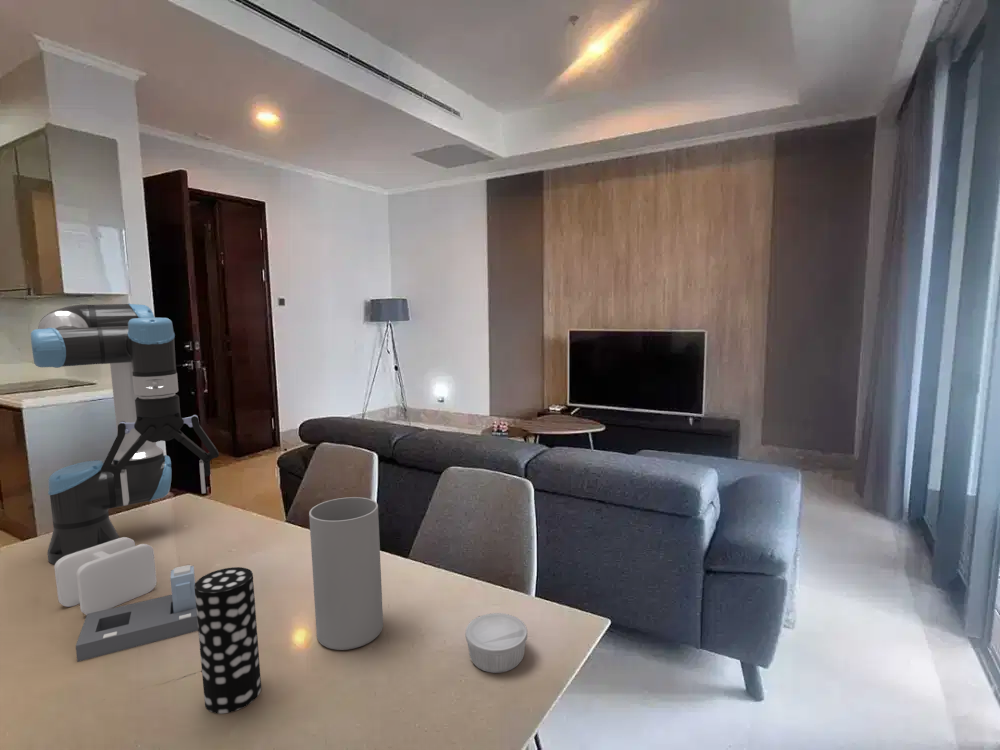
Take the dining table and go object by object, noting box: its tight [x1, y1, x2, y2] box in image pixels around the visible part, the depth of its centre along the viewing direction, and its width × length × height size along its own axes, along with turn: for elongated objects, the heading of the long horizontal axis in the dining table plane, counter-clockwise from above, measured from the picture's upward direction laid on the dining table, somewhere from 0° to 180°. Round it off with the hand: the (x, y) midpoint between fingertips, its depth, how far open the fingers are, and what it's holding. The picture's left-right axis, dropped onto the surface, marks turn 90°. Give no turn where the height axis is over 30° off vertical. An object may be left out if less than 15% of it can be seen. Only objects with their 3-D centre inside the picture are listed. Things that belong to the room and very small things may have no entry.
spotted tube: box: [194, 566, 262, 714], centre depth 89 cm, size 8×8×20 cm
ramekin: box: [464, 612, 529, 674], centre depth 98 cm, size 11×11×5 cm
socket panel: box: [75, 594, 198, 663], centre depth 109 cm, size 12×22×4 cm, turn 119°
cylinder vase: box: [308, 496, 384, 651], centre depth 105 cm, size 12×12×25 cm
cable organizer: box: [53, 536, 158, 616], centre depth 119 cm, size 15×11×12 cm
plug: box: [170, 564, 196, 613], centre depth 111 cm, size 5×4×11 cm
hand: (166, 497), depth 113 cm, fingers open, 13 cm apart
